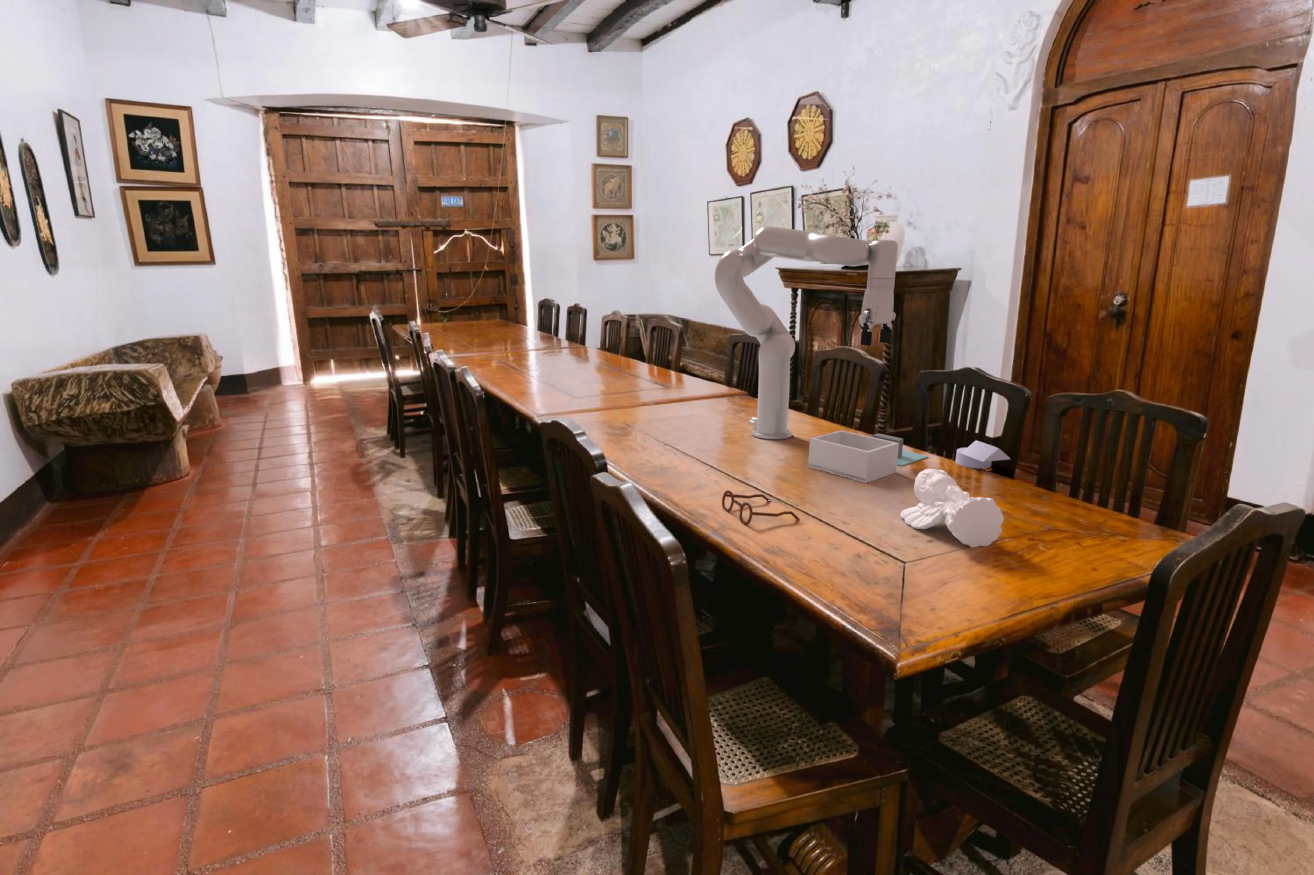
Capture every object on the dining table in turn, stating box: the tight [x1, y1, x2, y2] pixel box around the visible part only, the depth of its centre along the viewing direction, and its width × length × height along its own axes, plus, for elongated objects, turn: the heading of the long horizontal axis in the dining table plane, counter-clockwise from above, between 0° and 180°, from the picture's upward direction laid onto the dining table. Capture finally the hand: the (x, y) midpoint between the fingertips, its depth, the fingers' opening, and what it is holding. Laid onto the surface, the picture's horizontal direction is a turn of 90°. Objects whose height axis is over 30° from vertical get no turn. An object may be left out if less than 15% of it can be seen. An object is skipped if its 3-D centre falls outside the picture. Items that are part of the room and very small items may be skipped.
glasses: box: [721, 490, 800, 526], centre depth 157 cm, size 13×13×5 cm
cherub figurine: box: [899, 468, 1005, 548], centre depth 147 cm, size 13×12×20 cm
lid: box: [872, 433, 929, 467], centre depth 203 cm, size 18×14×6 cm
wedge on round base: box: [954, 439, 1011, 469], centre depth 193 cm, size 9×7×13 cm
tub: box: [807, 430, 899, 484], centre depth 188 cm, size 18×14×8 cm
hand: (875, 344), depth 208 cm, fingers open, 9 cm apart
